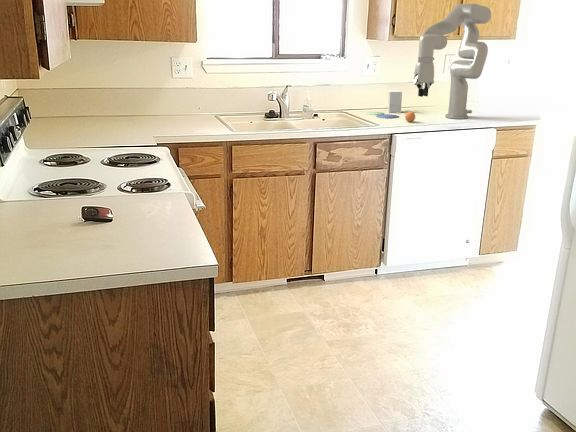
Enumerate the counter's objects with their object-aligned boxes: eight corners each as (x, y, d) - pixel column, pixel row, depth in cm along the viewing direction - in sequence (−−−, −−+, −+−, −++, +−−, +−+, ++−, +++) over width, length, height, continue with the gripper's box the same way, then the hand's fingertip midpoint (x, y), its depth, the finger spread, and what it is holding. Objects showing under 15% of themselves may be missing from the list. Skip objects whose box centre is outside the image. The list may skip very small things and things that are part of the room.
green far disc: (377, 111, 361) (377, 111, 361) (387, 114, 353) (387, 113, 353) (363, 112, 357) (363, 112, 357) (373, 115, 349) (373, 115, 349)
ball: (410, 120, 332) (411, 110, 330) (417, 122, 327) (417, 112, 325) (402, 121, 329) (403, 111, 328) (408, 123, 325) (409, 112, 323)
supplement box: (400, 111, 364) (401, 90, 360) (401, 113, 357) (402, 91, 353) (387, 111, 365) (388, 89, 361) (388, 112, 358) (389, 91, 354)
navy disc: (390, 114, 353) (390, 113, 353) (403, 117, 342) (403, 117, 342) (371, 115, 348) (371, 115, 348) (384, 119, 337) (384, 118, 337)
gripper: (433, 59, 316) (430, 94, 322) (408, 60, 309) (406, 96, 315) (442, 60, 310) (439, 96, 316) (417, 61, 303) (415, 98, 309)
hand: (422, 95), depth 315 cm, fingers open, 2 cm apart
